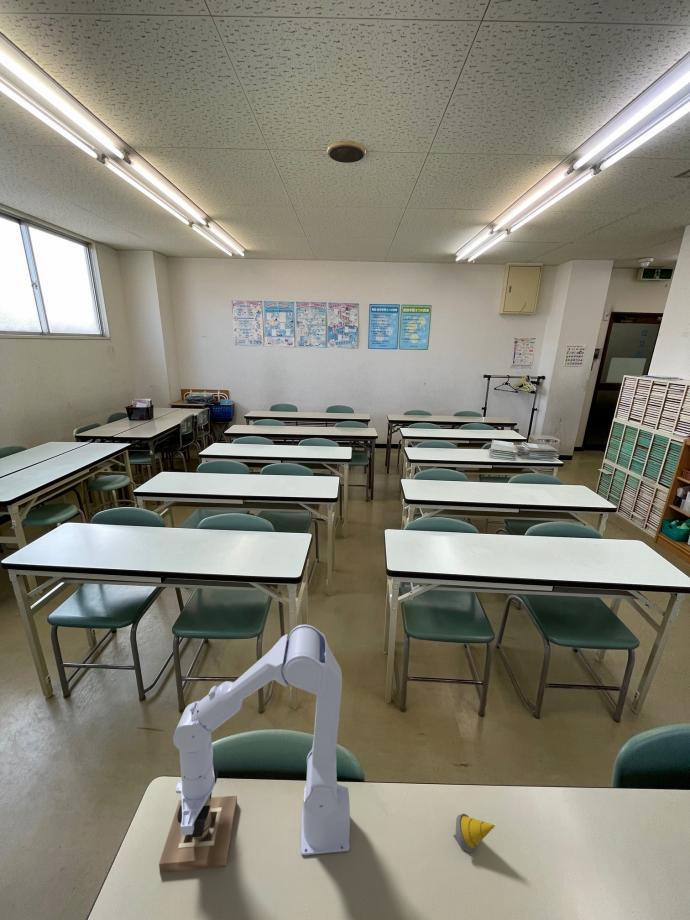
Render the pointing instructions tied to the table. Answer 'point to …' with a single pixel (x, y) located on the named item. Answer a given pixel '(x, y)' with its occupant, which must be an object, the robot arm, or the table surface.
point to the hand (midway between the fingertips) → (200, 821)
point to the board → (201, 853)
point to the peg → (207, 825)
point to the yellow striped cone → (470, 832)
